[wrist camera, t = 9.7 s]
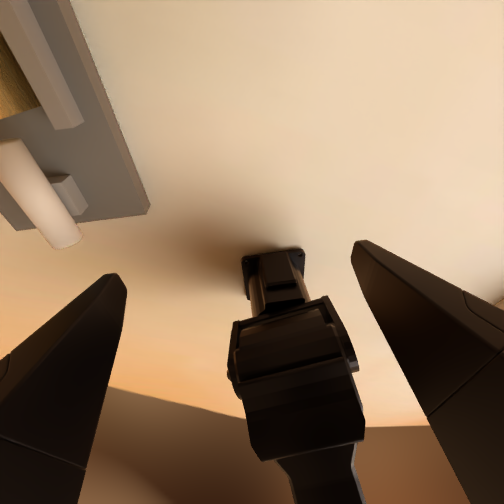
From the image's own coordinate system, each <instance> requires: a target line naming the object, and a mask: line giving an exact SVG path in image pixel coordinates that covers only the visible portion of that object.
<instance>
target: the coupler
mask: <svg viewBox="0 0 504 504" xmlns="http://www.w3.org/2000/svg"><path fill="white" fill-rule="evenodd" d="M40 106H42V105H41V103H40V101H39V100H38V98H37V96H36V94H35V92H34V91H33V89H32V87H31V85H30V83H29V81H28V80H27V78H26V76H25V74H24V72H23V71H22V69H21V67H20V65H19V63H18V62H17V60H16V58H15V56H14V54H13V53H12V51H11V49H10V47H9V45H8V44H7V42H6V40H5V38H4V36H3V35H2V33H1V31H0V119H3V118H6V117H9V116H12V115H15V114H18V113H21V112H24V111H27V110H30V109H34V108H37V107H40Z"/></svg>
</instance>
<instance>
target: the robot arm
mask: <svg viewBox="0 0 504 504" xmlns="http://www.w3.org/2000/svg"><path fill="white" fill-rule="evenodd" d="M300 253H301V254H300ZM298 254H300V255H298ZM245 261H247V262H245ZM241 263H242V270H243V276H244V283H245V289H246V296H247V299H248V300H250V301H251V309H252V318H249V319H245V320H242V321H239V320H238V321H234V322H233V327H232V331H231V338H230V346H229V354H228V362H227V367H228V370H227V377H228V379H229V380H230V381H231V382H232V386H233V389H234V391H235V393H236V395H237V397H238V398H239V399H240V400H242V402H243V406H244V410H245V414H246V419H247V425H248V431H249V437H250V443H251V446H252V448H253V450H254V451H255V453H256V454H257V456H258V457H259V459H260V460H261V461H262V462H266V461H271V460H274V461H275V463H276V464H277V465H278V466H279V467H280V468H281V470H282V471H283V472H284V473H285V474H286V475H287V477H288V479H289V483H290V486H291V490H292V494H293V498H294V503H295V504H366V501H365V498H364V495H363V492H362V488H361V485H360V482H359V479H358V476H357V473H356V470H355V467H354V459H355V454H356V449H357V443H358V442H362V441H363V440H364V433H365V418H364V415H363V406H362V403H361V400H360V397H359V394H358V391H357V388H356V385H355V382H354V379H353V376H352V373H353V372H357V371H359V365H358V361H357V357H356V354H355V351H354V348H353V345H352V343H351V340H350V338H349V335H348V333H347V331H346V329H345V327H344V325H343V323H342V321H341V319H340V317H339V316H338V314H337V312H336V310H335V308H334V306H333V305H332V303H331V301H330V299H329V297H328V295H326V296H323V297H321V298H319V299H316V300H312V301H311V300H310V297H309V294H308V291H307V289H306V286H305V283H304V280H303V279H304V265H305V252H304V250H302V249H296V250H289V251H281V252H274V253H266V254H259V255H251V256H245V257H243V258H242V259H241ZM351 263H352V266H353V269H354V271H355V274H356V277H357V279H358V282H359V285H360V287H361V290H362V293H363V295H364V297H365V299H366V301H367V303H368V305H369V307H370V309H371V311H372V313H373V315H374V317H375V319H376V321H377V323H378V325H379V327H380V329H381V330H382V332H383V334H384V336H385V338H386V340H387V342H388V344H389V346H390V348H391V350H392V352H393V354H394V356H395V358H396V360H397V361H398V363H399V365H400V367H401V369H402V371H403V373H404V375H405V377H406V379H407V381H408V383H409V385H410V387H411V389H412V390H413V392H414V394H415V396H416V398H417V400H418V402H419V404H420V406H421V408H422V410H423V412H424V414H425V416H426V417H427V420H428V422H429V424H430V426H431V428H432V430H433V431H434V433H435V435H436V437H437V439H438V441H439V443H440V445H441V447H442V449H443V451H444V453H445V455H446V456H447V459H448V460H449V462H450V464H451V466H452V468H453V470H454V472H455V474H456V476H457V478H458V480H459V482H460V484H461V486H462V488H463V490H464V491H465V493H466V495H467V497H468V499H469V501H470V503H471V504H504V310H502V309H500V308H498V307H496V306H494V305H492V304H490V303H488V302H486V301H484V300H482V299H480V298H478V297H476V296H474V295H472V294H470V293H468V292H466V291H464V290H463V291H462V289H460V288H459V287H457V286H455V285H453V284H451V283H449V282H447V281H445V280H443V279H441V278H439V277H437V276H435V275H434V274H432V273H430V272H428V271H426V270H424V269H422V268H420V267H418V266H416V265H414V264H412V263H410V262H408V261H407V260H405V259H403V258H401V257H399V256H397V255H395V254H393V253H391V252H389V251H387V250H385V249H383V248H382V247H380V246H378V245H376V244H374V243H372V242H370V241H368V240H360V241H356V242H355V243H354V246H353V250H352V254H351ZM126 298H127V288H126V286H125V285H124V283H123V281H122V280H121V278H120V277H119V275H118V274H117V273H110V274H105V275H103V276H102V277H101V278H99V279H98V280H97V281H96V282H95V283H93V284H92V285H91V286H90V287H88V288H87V289H86V290H85V291H84V292H82V293H81V294H80V295H79V296H78V297H76V298H75V299H74V300H73V301H72V302H70V303H69V304H68V305H67V306H65V307H64V308H63V309H62V310H61V311H59V312H58V313H57V314H56V315H55V316H53V317H52V318H51V319H50V320H49V321H47V322H46V323H45V324H44V325H42V326H41V327H40V328H39V329H38V330H36V331H35V332H34V333H33V334H32V335H30V336H29V337H28V338H27V339H26V340H24V341H23V342H22V343H21V344H19V345H18V346H17V347H16V348H15V349H13V350H12V351H11V353H10V354H7V355H6V356H5V357H4V358H3V359H1V360H0V504H77V503H78V499H79V496H80V491H81V488H82V484H83V480H84V476H85V472H86V467H87V463H88V460H89V456H90V452H91V448H92V445H93V441H94V437H95V433H96V429H97V425H98V421H99V418H100V414H101V410H102V406H103V402H104V398H105V394H106V390H107V387H108V383H109V379H110V375H111V371H112V367H113V363H114V360H115V356H116V352H117V348H118V344H119V340H120V336H121V332H122V327H123V320H124V313H125V306H126Z"/></svg>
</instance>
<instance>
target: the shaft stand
mask: <svg viewBox="0 0 504 504" xmlns="http://www.w3.org/2000/svg"><path fill="white" fill-rule="evenodd" d="M0 31H1V33H2V35H3V36H4V38H5V40H6V42H7V44H8V45H9V47H10V49H11V51H12V53H13V54H14V56H15V58H16V60H17V62H18V63H19V65H20V67H21V69H22V71H23V72H24V74H25V76H26V78H27V80H28V81H29V83H30V85H31V87H32V89H33V91H34V92H35V94H36V96H37V98H38V100H39V101H40V103H41V105H42V106H40V107H37V108H34V109H30V110H27V111H24V112H21V113H18V114H15V115H12V116H9V117H6V118H3V119H0V213H1V214H2V215H3V216H4V217H5V218H6V220H7V221H8V222H9V223H10V224H11V225H12V227H13V228H14V229H15V230H16V231H19V230H27V229H35V228H37V229H38V230H39V232H40V233H41V234H42V235H43V237H44V238H45V239H46V240H47V242H48V243H49V244H50V246H51V247H52V248H53V249H64V248H67V247H70V246H72V245H74V244H76V243H78V242H79V241H80V240H81V239H82V238H83V234H82V232H81V230H80V229H79V227H78V226H77V224H76V223H82V222H90V221H98V220H106V219H113V218H121V217H129V216H137V215H145V214H147V211H148V209H149V207H150V203H149V200H148V198H147V195H146V193H145V190H144V188H143V185H142V183H141V180H140V178H139V175H138V173H137V170H136V168H135V165H134V162H133V160H132V157H131V155H130V152H129V150H128V147H127V145H126V142H125V140H124V137H123V135H122V132H121V130H120V127H119V125H118V122H117V119H116V117H115V114H114V112H113V109H112V107H111V104H110V102H109V99H108V97H107V94H106V92H105V89H104V87H103V84H102V82H101V79H100V76H99V74H98V71H97V69H96V66H95V64H94V61H93V59H92V56H91V54H90V51H89V49H88V46H87V44H86V41H85V39H84V36H83V34H82V31H81V28H80V26H79V23H78V21H77V18H76V16H75V13H74V11H73V8H72V6H71V3H70V1H69V0H0Z"/></svg>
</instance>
